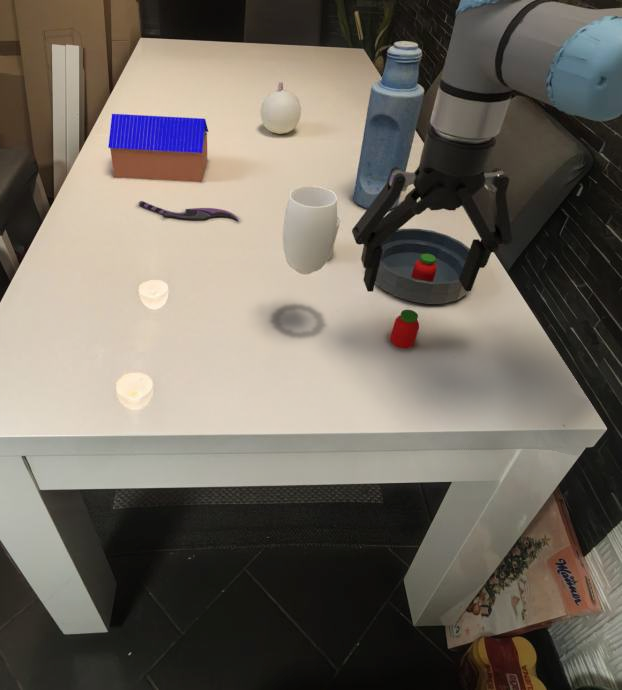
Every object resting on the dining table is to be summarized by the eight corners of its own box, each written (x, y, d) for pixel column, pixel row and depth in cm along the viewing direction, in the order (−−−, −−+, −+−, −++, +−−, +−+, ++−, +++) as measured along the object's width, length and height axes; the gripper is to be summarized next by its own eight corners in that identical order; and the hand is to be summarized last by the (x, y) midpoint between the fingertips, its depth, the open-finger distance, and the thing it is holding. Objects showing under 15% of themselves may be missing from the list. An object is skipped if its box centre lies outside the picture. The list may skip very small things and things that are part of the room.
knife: (139, 203, 111) (133, 216, 108) (139, 199, 111) (133, 212, 107) (240, 212, 110) (237, 225, 107) (240, 208, 110) (237, 222, 106)
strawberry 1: (419, 342, 82) (427, 315, 78) (404, 352, 80) (412, 325, 76) (399, 329, 84) (407, 303, 80) (384, 339, 82) (391, 313, 79)
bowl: (489, 281, 94) (498, 259, 91) (429, 320, 86) (436, 297, 83) (408, 240, 104) (414, 219, 101) (347, 271, 95) (351, 248, 92)
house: (202, 182, 120) (201, 128, 112) (112, 177, 120) (104, 123, 112) (209, 160, 129) (208, 109, 121) (124, 155, 129) (118, 104, 121)
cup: (293, 300, 88) (306, 178, 75) (330, 319, 85) (351, 195, 71) (265, 321, 84) (274, 196, 70) (304, 342, 81) (321, 215, 67)
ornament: (258, 124, 147) (260, 77, 139) (296, 125, 148) (300, 77, 140) (261, 139, 139) (263, 89, 131) (301, 139, 140) (306, 90, 132)
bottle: (405, 198, 117) (443, 42, 97) (387, 216, 111) (423, 53, 91) (364, 186, 121) (392, 33, 101) (344, 203, 114) (370, 43, 94)
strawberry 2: (436, 283, 92) (444, 258, 89) (423, 291, 90) (431, 266, 87) (418, 274, 94) (425, 249, 91) (405, 281, 92) (412, 256, 89)
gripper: (554, 120, 65) (494, 270, 79) (346, 116, 63) (323, 270, 77) (587, 145, 59) (515, 301, 73) (359, 142, 58) (331, 302, 72)
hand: (416, 285), depth 75 cm, fingers open, 13 cm apart
